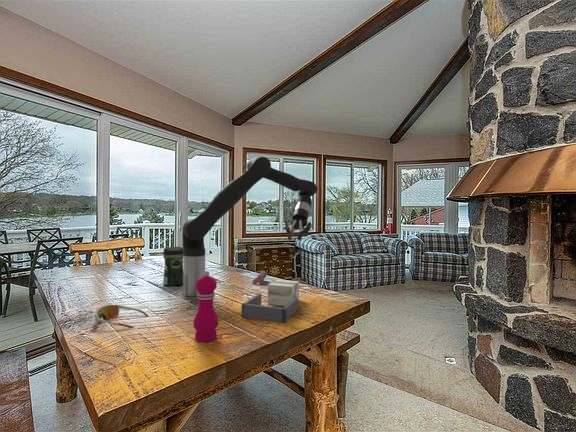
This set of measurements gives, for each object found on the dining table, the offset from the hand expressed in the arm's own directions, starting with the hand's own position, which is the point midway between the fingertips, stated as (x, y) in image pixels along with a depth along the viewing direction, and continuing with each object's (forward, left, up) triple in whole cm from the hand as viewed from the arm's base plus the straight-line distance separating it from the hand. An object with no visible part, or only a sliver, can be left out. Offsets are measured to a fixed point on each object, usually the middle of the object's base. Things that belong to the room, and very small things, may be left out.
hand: (294, 239), depth 150 cm
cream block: (-12, -14, -24) cm, 30 cm away
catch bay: (-22, -24, -24) cm, 40 cm away
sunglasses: (-71, -11, -25) cm, 76 cm away
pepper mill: (-49, -37, -24) cm, 65 cm away
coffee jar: (-49, +35, -24) cm, 65 cm away
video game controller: (-8, +22, -24) cm, 34 cm away
